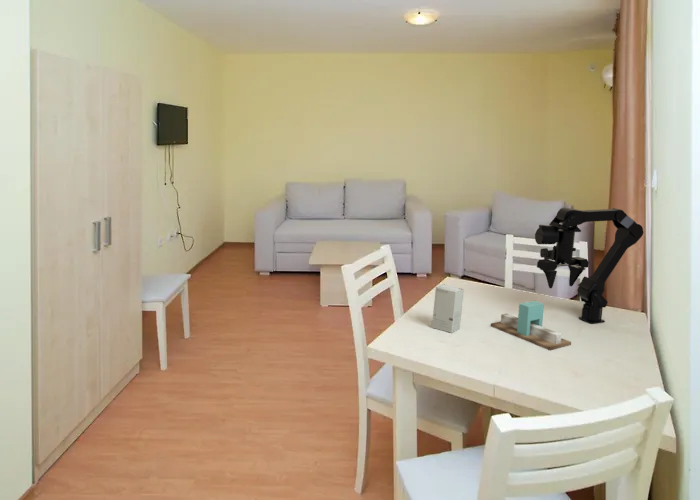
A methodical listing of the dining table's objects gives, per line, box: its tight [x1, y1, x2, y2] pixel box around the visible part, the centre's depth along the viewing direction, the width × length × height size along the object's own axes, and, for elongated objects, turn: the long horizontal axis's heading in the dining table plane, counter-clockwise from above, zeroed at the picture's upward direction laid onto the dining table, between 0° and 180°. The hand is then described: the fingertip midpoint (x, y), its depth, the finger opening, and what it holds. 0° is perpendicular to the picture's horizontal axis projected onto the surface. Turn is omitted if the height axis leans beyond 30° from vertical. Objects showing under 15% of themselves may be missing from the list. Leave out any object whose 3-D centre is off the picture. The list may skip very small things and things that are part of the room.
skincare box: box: [431, 283, 465, 334], centre depth 203 cm, size 8×6×15 cm
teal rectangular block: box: [517, 300, 545, 336], centre depth 198 cm, size 7×4×10 cm, turn 121°
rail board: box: [490, 313, 572, 351], centre depth 199 cm, size 26×10×4 cm, turn 31°
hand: (560, 287), depth 211 cm, fingers open, 9 cm apart
